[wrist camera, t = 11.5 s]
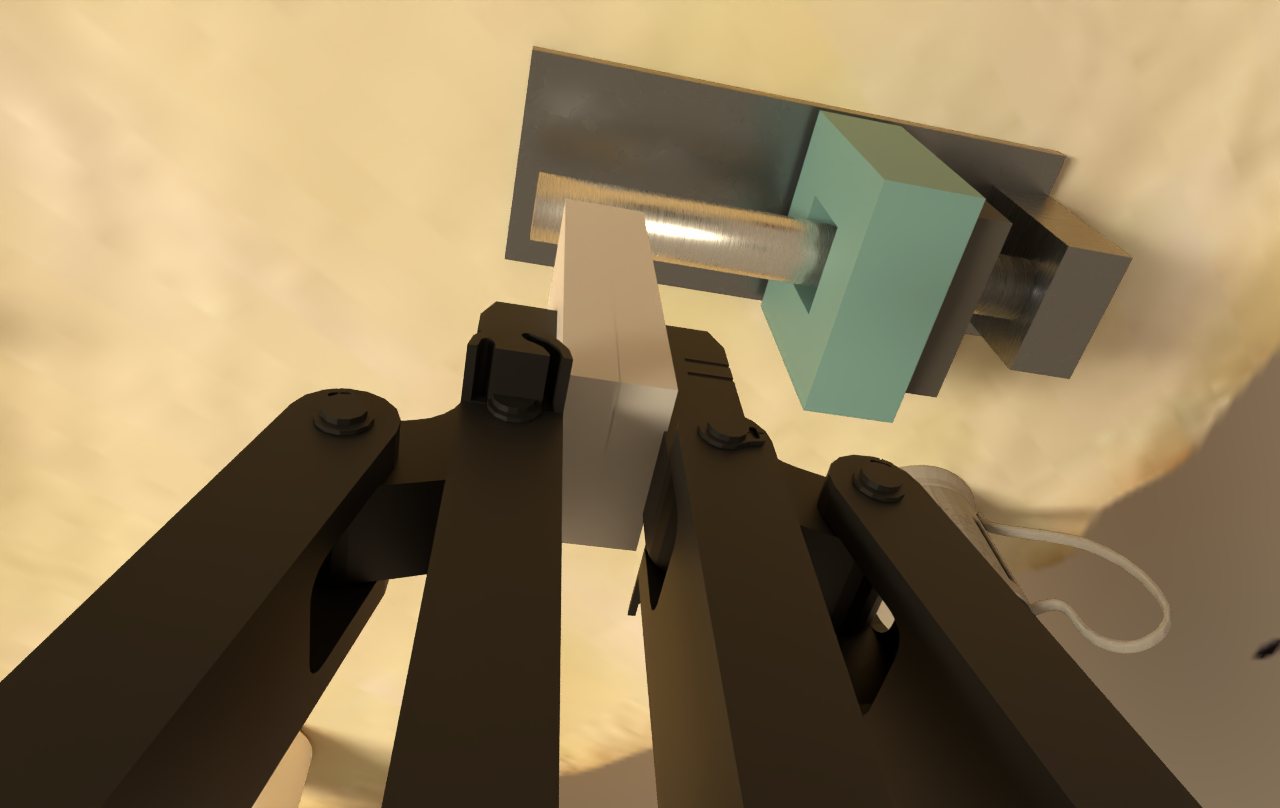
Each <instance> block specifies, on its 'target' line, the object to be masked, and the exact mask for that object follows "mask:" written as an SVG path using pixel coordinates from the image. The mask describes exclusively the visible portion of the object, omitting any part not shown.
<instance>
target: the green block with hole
mask: <svg viewBox="0 0 1280 808" xmlns="http://www.w3.org/2000/svg"><path fill="white" fill-rule="evenodd" d="M985 200H986V198H984V197H983V196H982V195H981V194H980V193H979V192H977V191H976V190H975V189H974V188H973V187H972V186H970V185H969V184H968V183H967V182H966V181H965V180H963V179H962V178H961V177H960V176H959V175H958V174H956V173H955V172H954V171H953V170H952V169H950V168H949V167H948V166H947V165H946V164H945V163H943V162H942V161H941V160H940V159H939V158H938V157H936V156H935V155H934V154H933V153H932V152H931V151H929V150H928V149H927V148H926V147H925V146H924V145H922V144H921V143H920V142H919V141H918V140H917V139H915V138H914V137H913V136H912V135H911V134H910V133H908V132H907V131H906V130H905V129H904V128H903V127H901V126H897V125H892V124H887V123H882V122H877V121H872V120H867V119H862V118H857V117H852V116H847V115H842V114H837V113H832V112H827V111H821V110H820V111H819V114H818V117H817V121H816V124H815V127H814V131H813V134H812V137H811V141H810V144H809V147H808V151H807V154H806V157H805V161H804V164H803V167H802V171H801V174H800V177H799V181H798V184H797V187H796V191H795V194H794V197H793V201H792V204H791V207H790V211H789V214H788V216H790V217H796V218H802V219H807V220H813V221H818V222H824V223H830V224H835V225H836V226H837V227H838V228H837V231H836V234H835V237H834V240H833V243H832V246H831V249H830V252H829V255H828V258H827V261H826V264H825V267H824V270H823V273H822V276H821V279H820V282H819V285H818V288H817V287H811V286H805V285H799V284H793V283H787V282H781V281H775V280H768V284H767V287H766V290H765V294H764V297H763V300H762V304H761V308H762V310H763V312H764V315H765V317H766V320H767V322H768V325H769V327H770V330H771V332H772V334H773V337H774V339H775V342H776V344H777V347H778V349H779V352H780V354H781V356H782V359H783V361H784V364H785V366H786V369H787V371H788V374H789V376H790V379H791V381H792V383H793V386H794V388H795V391H796V393H797V396H798V398H799V401H800V403H801V405H802V408H803V410H805V411H812V412H819V413H826V414H833V415H840V416H847V417H854V418H861V419H868V420H875V421H882V422H889V423H893V421H894V418H895V416H896V414H897V411H898V409H899V406H900V404H901V402H902V399H903V397H904V394H905V392H906V390H907V387H908V385H909V382H910V380H911V378H912V375H913V373H914V370H915V368H916V366H917V363H918V361H919V358H920V356H921V354H922V351H923V349H924V346H925V344H926V341H927V339H928V337H929V334H930V332H931V329H932V327H933V325H934V322H935V320H936V317H937V315H938V313H939V310H940V308H941V305H942V303H943V301H944V298H945V296H946V293H947V291H948V289H949V286H950V284H951V281H952V279H953V277H954V274H955V272H956V269H957V267H958V265H959V262H960V260H961V257H962V255H963V253H964V250H965V248H966V245H967V243H968V241H969V238H970V236H971V233H972V231H973V229H974V226H975V224H976V221H977V219H978V217H979V214H980V212H981V209H982V207H983V205H984V202H985Z"/></svg>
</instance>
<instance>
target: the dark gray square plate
mask: <svg viewBox="0 0 1280 808" xmlns="http://www.w3.org/2000/svg"><path fill="white" fill-rule="evenodd" d="M1012 224H1013V223H1011V222H1010V221H1009V220H1008V219H1007V218H1006V217H1004V216H1003V215H1002V214H1001V213H1000V212H999V211H997V210H996V209H995V208H994V207H993V206H992V205H990V204H989V203H988V202H987V201H986V200H985V202H984V205H983V207H982V209H981V212H980V214H979V217H978V219H977V221H976V224H975V226H974V229H973V231H972V233H971V236H970V238H969V241H968V243H967V245H966V248H965V250H964V253H963V255H962V257H961V260H960V262H959V265H958V267H957V269H956V272H955V274H954V277H953V279H952V281H951V284H950V286H949V289H948V291H947V293H946V296H945V298H944V301H943V303H942V305H941V308H940V310H939V313H938V315H937V317H936V320H935V322H934V325H933V327H932V329H931V332H930V334H929V337H928V339H927V341H926V344H925V346H924V349H923V351H922V354H921V356H920V358H919V361H918V363H917V366H916V368H915V370H914V373H913V375H912V378H911V380H910V382H909V385H908V387H907V390H906V392H905V393H911V394H917V395H924V396H931V397H937V395H938V393H939V391H940V388H941V386H942V384H943V381H944V379H945V377H946V375H947V372H948V370H949V368H950V365H951V363H952V361H953V359H954V356H955V354H956V352H957V350H958V347H959V345H960V343H961V340H962V338H963V336H964V334H965V331H966V329H967V327H968V324H969V322H970V320H971V318H972V315H973V313H974V311H975V309H976V306H977V304H978V302H979V299H980V297H981V295H982V293H983V290H984V288H985V286H986V283H987V281H988V279H989V277H990V274H991V272H992V270H993V267H994V265H995V263H996V261H997V258H998V256H999V254H1000V252H1001V249H1002V247H1003V245H1004V242H1005V240H1006V238H1007V236H1008V233H1009V231H1010V229H1011V226H1012Z"/></svg>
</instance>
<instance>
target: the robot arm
mask: <svg viewBox="0 0 1280 808" xmlns="http://www.w3.org/2000/svg"><path fill="white" fill-rule="evenodd" d="M643 523H644V533H645V542H646V545H645V549H644V553H643V556H642V560H641V564H640V568H639V571H638V575H637V579H636V582H635V586H634V590H633V594H632V597H631V601H630V605H629V610H628V615H631V616H635V615H636V611H637V608H638V604H640V603H641V614H642V626H643V637H644V649H645V661H646V672H647V684H648V695H649V707H650V719H651V730H652V742H653V754H654V765H655V777H656V787H657V800H658V808H1202V807H1201V806H1200V805H1199V803H1198V802H1197V801H1196V800H1195V799H1194V797H1193V796H1192V795H1191V794H1190V793H1189V792H1188V791H1187V789H1186V788H1185V787H1184V786H1183V785H1182V784H1181V783H1180V781H1179V780H1178V779H1177V778H1176V777H1175V776H1174V775H1173V773H1172V772H1171V771H1170V770H1169V769H1168V768H1167V767H1166V765H1165V764H1164V763H1163V762H1162V761H1161V760H1160V758H1159V757H1158V756H1157V755H1156V754H1155V753H1154V752H1153V750H1152V749H1151V748H1150V747H1149V746H1148V745H1147V744H1146V742H1145V741H1144V740H1143V739H1142V738H1141V737H1140V736H1139V735H1138V733H1137V732H1136V731H1135V730H1134V729H1133V728H1132V726H1131V725H1130V724H1129V723H1128V722H1127V721H1126V720H1125V718H1124V717H1123V716H1122V715H1121V714H1120V713H1119V711H1118V710H1117V709H1116V708H1115V707H1114V706H1113V705H1112V703H1111V702H1110V701H1109V700H1108V699H1107V698H1106V697H1105V695H1104V694H1103V693H1102V692H1101V691H1100V690H1099V689H1098V687H1097V686H1096V685H1095V684H1094V683H1093V682H1092V681H1091V679H1090V678H1089V677H1088V676H1087V675H1086V674H1085V672H1084V671H1083V670H1082V669H1081V668H1080V667H1079V666H1078V665H1077V663H1076V662H1075V661H1074V660H1073V659H1072V658H1071V656H1070V655H1069V654H1068V653H1067V652H1066V651H1065V650H1064V648H1063V647H1062V646H1061V645H1060V644H1059V643H1058V642H1057V640H1056V639H1055V638H1054V637H1053V636H1052V635H1051V634H1050V632H1049V631H1048V630H1047V629H1046V628H1045V627H1044V626H1043V624H1042V623H1041V622H1040V621H1039V620H1038V619H1037V617H1036V616H1035V615H1034V614H1033V613H1032V612H1031V611H1030V609H1029V608H1028V607H1027V606H1026V605H1025V604H1024V603H1023V601H1022V600H1021V599H1020V598H1019V597H1018V596H1017V594H1016V593H1015V592H1014V591H1013V590H1012V589H1011V588H1010V586H1009V585H1008V584H1007V583H1006V582H1005V581H1004V580H1003V578H1002V577H1001V576H1000V575H999V574H998V573H997V572H996V570H995V569H994V568H993V567H992V566H991V565H990V564H989V562H988V561H987V560H986V559H985V558H984V557H983V556H982V554H981V553H980V552H979V551H978V550H977V549H976V547H975V546H974V545H973V544H972V543H971V542H970V541H969V539H968V538H967V537H966V536H965V535H964V534H963V533H962V531H961V530H960V529H959V528H958V527H957V526H956V525H955V523H954V522H953V521H952V520H951V519H950V518H949V517H948V515H947V514H946V513H945V512H944V511H943V510H942V508H941V507H940V506H939V505H938V504H937V503H936V502H935V500H934V499H933V498H932V497H931V496H930V495H929V494H928V492H927V491H926V490H925V489H924V488H923V487H922V486H921V484H920V483H919V482H917V481H916V480H915V479H914V478H913V477H912V476H911V475H909V474H908V473H907V472H906V471H904V470H902V469H900V468H898V467H897V466H895V465H893V464H892V463H891V462H888V461H886V460H883V459H882V460H880V458H876V457H872V456H860V455H850V456H844V457H839V458H838V459H837V460H835V461H834V462H833V463H831V465H830V468H829V471H828V473H827V476H826V477H824V476H821V475H818V474H815V473H812V472H809V471H806V470H803V469H800V468H797V467H795V466H792V465H790V464H787V463H785V462H782V461H781V460H779V459H778V458H777V455H776V452H775V449H774V446H773V443H772V441H771V439H770V438H769V436H768V435H767V433H766V431H765V430H763V429H762V428H761V427H760V426H758V425H757V424H756V423H754V422H753V421H751V420H749V419H747V418H745V417H744V413H743V410H742V407H741V403H740V400H739V397H738V393H737V390H736V387H735V383H734V382H733V377H732V373H731V370H730V368H729V363H728V360H727V357H726V354H725V350H724V348H723V347H722V346H721V345H720V344H719V343H718V342H717V341H716V340H715V339H714V338H713V337H712V336H711V335H710V334H709V333H708V332H706V331H700V330H693V329H687V328H681V327H674V326H668V325H665V320H664V315H663V310H662V305H661V300H660V295H659V289H658V284H657V279H656V274H655V269H654V264H653V258H652V253H651V248H650V243H649V238H648V233H647V227H646V222H645V217H644V212H640V211H634V210H629V209H623V208H617V207H611V206H606V205H600V204H594V203H588V202H583V201H577V200H571V199H565V205H564V211H563V217H562V223H561V229H560V235H559V241H558V247H557V253H556V260H555V266H554V272H553V278H552V284H551V290H550V296H549V302H548V308H547V309H543V308H536V307H530V306H523V305H517V304H510V303H504V302H497V301H496V302H495V303H494V304H493V305H491V306H490V307H489V308H487V309H486V310H485V311H484V312H482V313H481V315H480V320H479V326H478V331H477V334H475V335H473V337H472V338H471V340H470V341H469V343H468V345H467V353H466V362H465V370H464V379H463V388H462V396H461V403H460V404H458V405H457V406H456V407H455V408H454V409H452V410H450V411H449V412H447V413H445V414H442V415H439V416H435V417H432V418H427V419H419V420H408V421H401V420H400V417H399V414H398V411H397V409H396V408H395V407H394V406H393V405H392V404H390V403H389V402H388V401H387V400H386V399H384V398H381V397H379V396H376V395H374V394H372V393H369V392H365V391H359V390H353V389H343V388H340V389H326V390H321V391H318V392H314V393H310V394H306V395H304V396H303V397H301V398H299V399H298V400H296V401H295V402H293V403H291V404H290V405H289V406H288V407H287V408H286V409H285V410H284V411H283V412H282V413H281V414H280V415H279V416H278V417H277V418H276V419H275V420H274V421H273V422H271V423H270V424H269V425H268V426H267V427H266V428H265V429H264V430H263V431H262V432H261V433H260V434H259V435H258V436H257V437H256V438H255V439H254V440H253V441H252V442H251V443H250V444H249V445H247V446H246V447H245V448H244V449H243V450H242V451H241V452H240V453H239V454H238V455H237V456H236V457H235V458H234V459H233V460H232V461H231V462H230V463H229V464H228V465H227V466H226V467H225V468H223V469H222V470H221V471H220V472H219V473H218V474H217V475H216V476H215V477H214V478H213V479H212V480H211V481H210V482H209V483H208V484H207V485H206V486H205V487H204V488H203V489H202V490H201V491H199V492H198V493H197V494H196V495H195V496H194V497H193V498H192V499H191V500H190V501H189V502H188V503H187V504H186V505H185V506H184V507H183V508H182V509H181V510H180V511H179V512H178V513H177V514H175V515H174V516H173V517H172V518H171V519H170V520H169V521H168V522H167V523H166V524H165V525H164V526H163V527H162V528H161V529H160V530H159V531H158V532H157V533H156V534H155V535H154V536H153V537H151V538H150V539H149V540H148V541H147V542H146V543H145V544H144V545H143V546H142V547H141V548H140V549H139V550H138V551H137V552H136V553H135V554H134V555H133V556H132V557H131V558H130V559H129V560H127V561H126V562H125V563H124V564H123V565H122V566H121V567H120V568H119V569H118V570H117V571H116V572H115V573H114V574H113V575H112V576H111V577H110V578H109V579H108V580H107V581H106V582H105V583H103V584H102V585H101V586H100V587H99V588H98V589H97V590H96V591H95V592H94V593H93V594H92V595H91V596H90V597H89V598H88V599H87V600H86V601H85V602H84V603H83V604H82V605H81V606H79V607H78V608H77V609H76V610H75V611H74V612H73V613H72V614H71V615H70V616H69V617H68V618H67V619H66V620H65V621H64V622H63V623H62V624H61V625H60V626H59V627H58V628H57V629H55V630H54V631H53V632H52V633H51V634H50V635H49V636H48V637H47V638H46V639H45V640H44V641H43V642H42V643H41V644H40V645H39V646H38V647H37V648H36V649H35V650H34V651H33V652H31V653H30V654H29V655H28V656H27V657H26V658H25V659H24V660H23V661H22V662H21V663H20V664H19V665H18V666H17V667H16V668H15V669H14V670H13V671H12V672H11V673H10V674H9V675H7V676H6V677H5V678H4V679H3V680H2V681H1V682H0V808H252V807H253V805H254V803H255V802H256V800H257V799H258V797H259V795H260V794H261V792H262V790H263V789H264V787H265V786H266V784H267V782H268V781H269V779H270V778H271V776H272V774H273V773H274V771H275V770H276V768H277V766H278V765H279V763H280V761H281V760H282V758H283V757H284V755H285V753H286V752H287V750H288V749H289V747H290V745H291V744H292V742H293V741H294V739H295V737H296V736H297V734H298V733H299V731H300V729H301V728H302V726H303V724H304V723H305V721H306V720H307V718H308V716H309V715H310V713H311V712H312V710H313V708H314V707H315V705H316V704H317V702H318V700H319V699H320V697H321V695H322V694H323V692H324V691H325V689H326V687H327V686H328V684H329V683H330V681H331V679H332V678H333V676H334V675H335V673H336V671H337V670H338V668H339V666H340V665H341V663H342V662H343V660H344V658H345V657H346V655H347V654H348V652H349V650H350V649H351V647H352V646H353V644H354V642H355V641H356V639H357V638H358V636H359V634H360V633H361V631H362V629H363V628H364V626H365V625H366V623H367V621H368V620H369V618H370V617H371V615H372V613H373V612H374V610H375V609H376V607H377V605H378V604H379V602H380V600H381V599H382V597H383V596H384V594H385V591H386V588H387V584H388V581H389V579H395V578H402V577H409V576H417V575H424V574H427V577H426V582H425V587H424V592H423V598H422V603H421V608H420V613H419V618H418V623H417V628H416V633H415V638H414V644H413V649H412V654H411V659H410V664H409V669H408V674H407V679H406V685H405V690H404V695H403V700H402V705H401V710H400V715H399V720H398V726H397V731H396V736H395V741H394V746H393V751H392V756H391V761H390V767H389V772H388V777H387V782H386V787H385V792H384V797H383V802H382V807H381V808H559V734H560V646H561V557H562V543H570V544H579V545H588V546H597V547H606V548H614V549H623V550H632V551H636V549H637V545H638V541H639V538H640V534H641V530H642V526H643ZM882 601H883V602H884V603H885V604H886V606H887V607H888V609H889V610H890V612H891V613H892V615H893V617H894V619H895V620H894V622H893V624H892V626H891V627H890V628H889V629H888V628H887V627H886V626H885V625H884V624H883V623H882V621H881V620H880V618H879V617H878V615H877V614H876V613H877V611H878V609H879V607H880V605H881V603H882Z"/></svg>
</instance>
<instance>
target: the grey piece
mask: <svg viewBox="0 0 1280 808" xmlns="http://www.w3.org/2000/svg"><path fill="white" fill-rule="evenodd" d="M820 110H821V111H827V112H832V113H837V114H842V115H847V116H852V117H857V118H862V119H867V120H872V121H877V122H882V123H887V124H892V125H897V126H901V127H903V128H904V129H905V130H906V131H907V132H908V133H910V134H911V135H912V136H913V137H914V138H915V139H917V140H918V141H919V142H920V143H921V144H922V145H924V146H925V147H926V148H927V149H928V150H929V151H931V152H932V153H933V154H934V155H935V156H936V157H938V158H939V159H940V160H941V161H942V162H943V163H945V164H946V165H947V166H948V167H949V168H950V169H952V170H953V171H954V172H955V173H956V174H958V175H959V176H960V177H961V178H962V179H963V180H965V181H966V182H967V183H968V184H969V185H970V186H972V187H973V188H974V189H975V190H976V191H977V192H979V193H980V194H981V195H982V196H983V197H984V198H986V201H987V202H988V203H989V204H990V205H992V206H993V207H994V208H995V209H996V210H997V211H999V212H1000V213H1001V214H1002V215H1003V216H1004V217H1006V218H1007V219H1008V220H1009V221H1010V222H1011V223H1013V224H1012V226H1011V229H1010V231H1009V233H1008V236H1007V238H1006V240H1005V242H1004V245H1003V247H1002V249H1001V252H1000V254H999V256H998V258H997V261H996V263H995V265H994V267H993V270H992V272H991V274H990V277H989V279H988V281H987V283H986V286H985V288H984V290H983V293H982V295H981V297H980V299H979V302H978V304H977V306H976V309H975V311H974V313H973V315H972V318H971V320H970V322H969V324H968V327H967V329H966V331H965V334H971V335H978V336H982V337H983V338H984V339H985V341H986V342H987V343H988V344H989V345H990V347H991V348H992V349H993V350H994V351H995V353H996V354H997V355H998V356H999V357H1000V359H1001V360H1002V361H1003V362H1004V363H1005V365H1006V366H1007V367H1008V368H1009V369H1010V370H1016V371H1022V372H1029V373H1035V374H1041V375H1048V376H1054V377H1061V378H1067V379H1070V377H1071V375H1072V373H1073V371H1074V369H1075V367H1076V365H1077V364H1078V362H1079V360H1080V358H1081V356H1082V354H1083V352H1084V350H1085V348H1086V346H1087V344H1088V342H1089V341H1090V339H1091V337H1092V335H1093V333H1094V331H1095V329H1096V327H1097V325H1098V323H1099V321H1100V320H1101V318H1102V316H1103V314H1104V312H1105V310H1106V308H1107V306H1108V304H1109V302H1110V300H1111V298H1112V297H1113V295H1114V293H1115V291H1116V289H1117V287H1118V285H1119V283H1120V281H1121V279H1122V277H1123V275H1124V274H1125V272H1126V270H1127V268H1128V266H1129V264H1130V262H1131V260H1132V257H1131V256H1129V255H1128V254H1127V253H1125V252H1124V251H1123V250H1121V249H1120V248H1119V247H1117V246H1116V245H1114V244H1113V243H1112V242H1110V241H1109V240H1108V239H1106V238H1105V237H1104V236H1102V235H1101V234H1100V233H1098V232H1097V231H1095V230H1094V229H1093V228H1091V227H1090V226H1089V225H1087V224H1086V223H1085V222H1083V221H1082V220H1081V219H1079V218H1078V217H1076V216H1075V215H1074V214H1072V213H1071V212H1070V211H1068V210H1067V209H1066V208H1064V207H1063V206H1062V205H1060V204H1059V203H1057V202H1056V201H1055V200H1053V199H1052V198H1051V197H1049V196H1048V195H1049V193H1050V191H1051V189H1052V187H1053V184H1054V182H1055V180H1056V178H1057V175H1058V173H1059V171H1060V169H1061V167H1062V164H1063V162H1064V160H1065V158H1066V156H1065V155H1063V154H1062V153H1060V152H1058V151H1053V150H1048V149H1043V148H1038V147H1033V146H1028V145H1023V144H1018V143H1013V142H1008V141H1003V140H998V139H993V138H988V137H983V136H978V135H973V134H968V133H963V132H958V131H953V130H948V129H943V128H938V127H934V126H929V125H924V124H919V123H914V122H909V121H904V120H899V119H894V118H889V117H884V116H879V115H874V114H869V113H864V112H859V111H854V110H849V109H844V108H839V107H834V106H829V105H824V104H819V103H814V102H809V101H804V100H799V99H794V98H789V97H784V96H779V95H774V94H769V93H764V92H759V91H754V90H749V89H744V88H739V87H734V86H729V85H724V84H719V83H715V82H710V81H705V80H700V79H695V78H690V77H685V76H680V75H675V74H670V73H665V72H660V71H655V70H650V69H645V68H640V67H635V66H630V65H625V64H620V63H615V62H610V61H605V60H600V59H595V58H590V57H585V56H580V55H575V54H570V53H565V52H560V51H555V50H550V49H545V48H540V47H535V46H533V50H532V58H531V65H530V73H529V80H528V88H527V95H526V103H525V110H524V118H523V125H522V133H521V140H520V148H519V155H518V163H517V170H516V178H515V185H514V193H513V200H512V208H511V215H510V223H509V230H508V238H507V245H506V253H505V259H508V260H514V261H521V262H527V263H533V264H539V265H545V266H551V267H554V266H555V260H556V253H557V247H558V241H559V235H560V229H561V223H562V217H563V211H564V205H565V199H571V200H577V201H583V202H588V203H594V204H600V205H606V206H611V207H617V208H623V209H629V210H634V211H640V212H644V217H645V222H646V227H647V233H648V238H649V243H650V248H651V253H652V258H653V264H654V269H655V274H656V279H657V284H663V285H669V286H675V287H681V288H687V289H693V290H700V291H706V292H712V293H718V294H724V295H731V296H737V297H743V298H749V299H755V300H761V301H762V300H763V297H764V294H765V290H766V287H767V284H768V280H775V281H781V282H787V283H793V284H799V285H805V286H811V287H817V288H818V285H819V282H820V279H821V276H822V273H823V270H824V267H825V264H826V261H827V258H828V255H829V252H830V249H831V246H832V243H833V240H834V237H835V234H836V231H837V228H838V227H837V226H836V225H835V224H830V223H824V222H818V221H813V220H807V219H802V218H796V217H790V216H788V214H789V211H790V207H791V204H792V201H793V197H794V194H795V191H796V187H797V184H798V181H799V177H800V174H801V171H802V167H803V164H804V161H805V157H806V154H807V151H808V147H809V144H810V141H811V137H812V134H813V131H814V127H815V124H816V121H817V117H818V114H819V111H820Z"/></svg>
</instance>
